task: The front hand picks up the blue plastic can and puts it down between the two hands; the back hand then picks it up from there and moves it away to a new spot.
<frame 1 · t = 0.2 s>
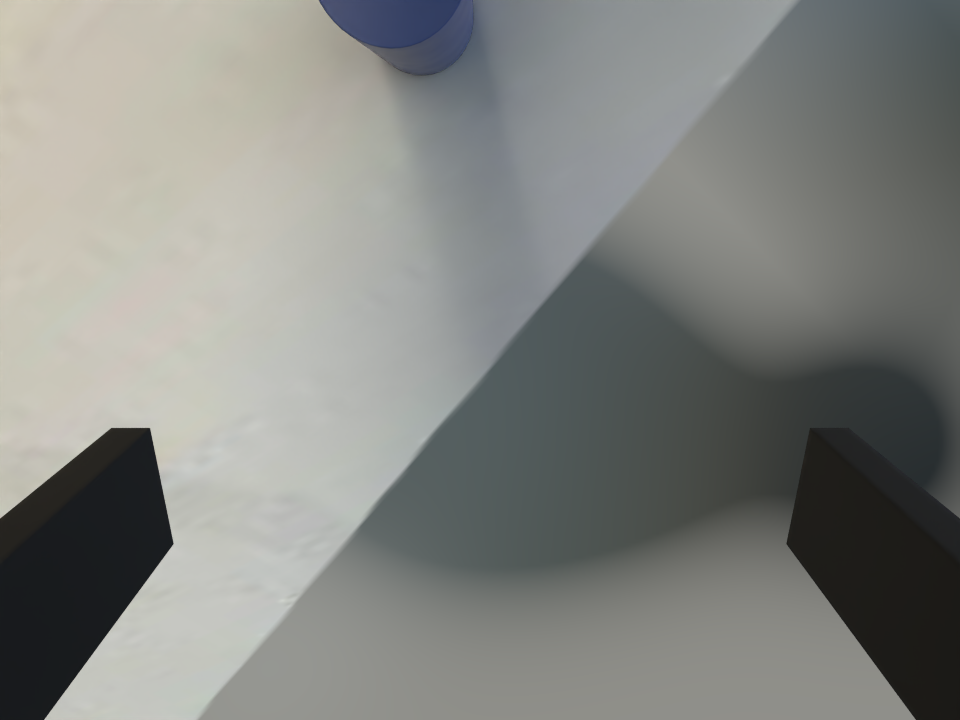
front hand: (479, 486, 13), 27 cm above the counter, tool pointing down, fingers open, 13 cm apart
can: (420, 16, 34), on the counter
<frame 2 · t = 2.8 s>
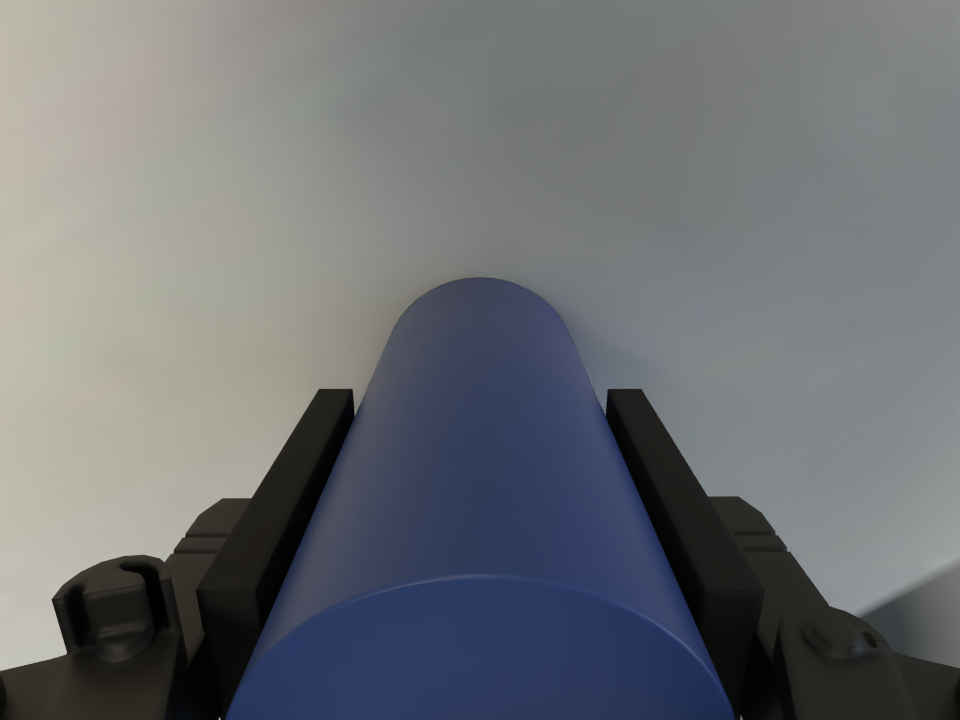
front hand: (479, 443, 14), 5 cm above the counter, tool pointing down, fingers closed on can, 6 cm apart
can: (480, 371, 19), on the counter, touching front hand
when the front hand's fingers open (6 cm above the counter, at t = 8.2 s): can drops 1 cm, on the counter.
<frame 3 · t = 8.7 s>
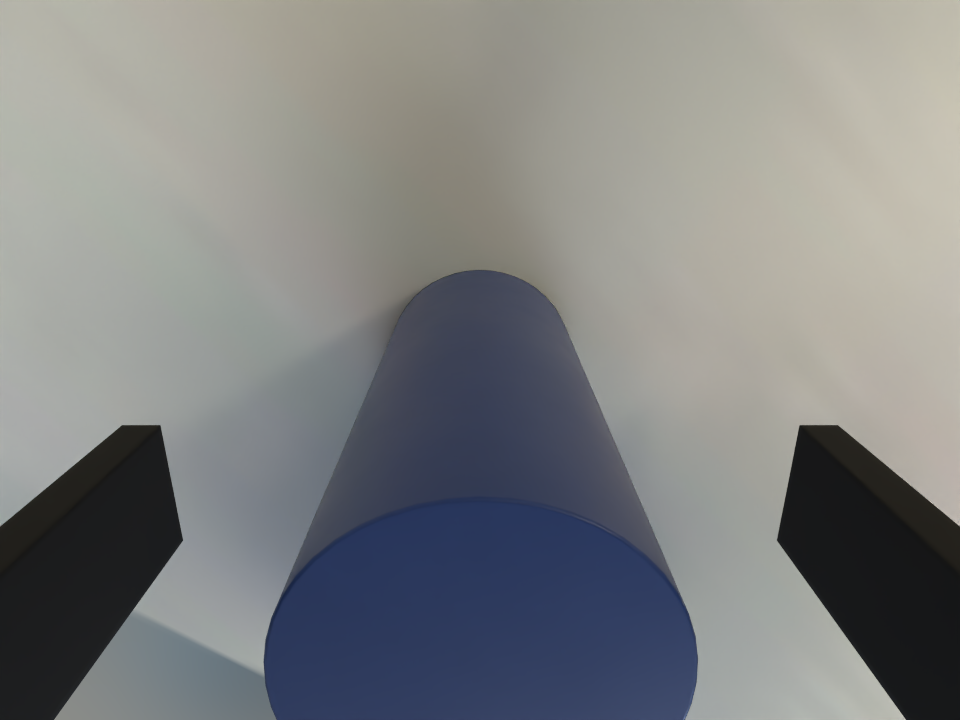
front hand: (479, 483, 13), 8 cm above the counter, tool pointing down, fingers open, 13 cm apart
can: (480, 358, 20), on the counter
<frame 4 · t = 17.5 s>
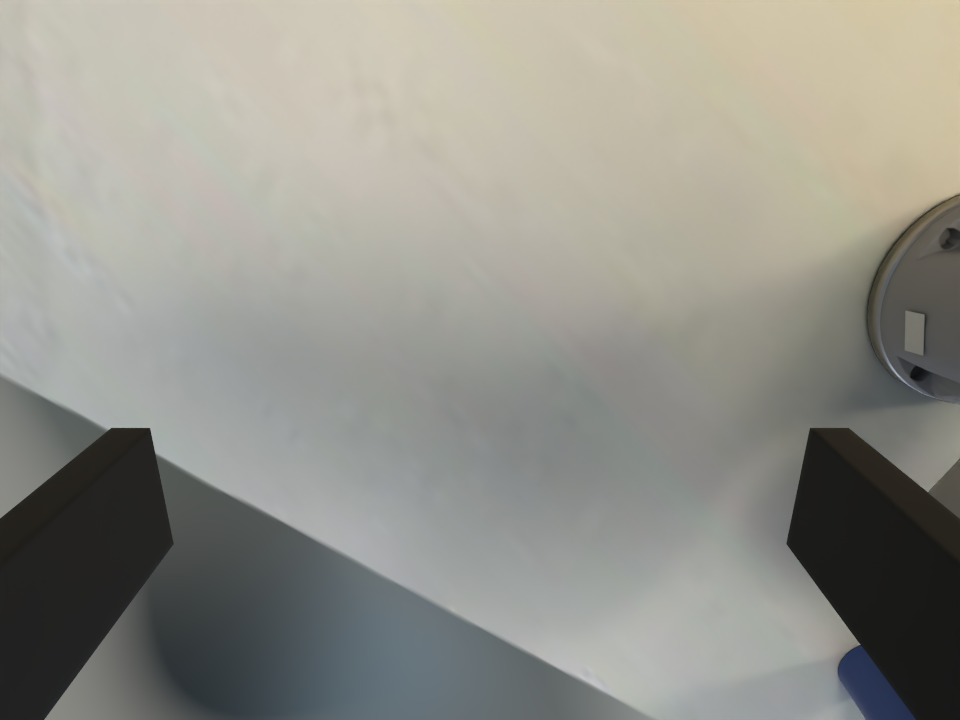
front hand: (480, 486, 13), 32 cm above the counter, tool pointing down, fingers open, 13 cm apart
can: (870, 666, 57), on the counter, touching back hand
when the back hand's fingers open (6 cm above the counter, at t = 24.9 s): can drops 1 cm, on the counter.
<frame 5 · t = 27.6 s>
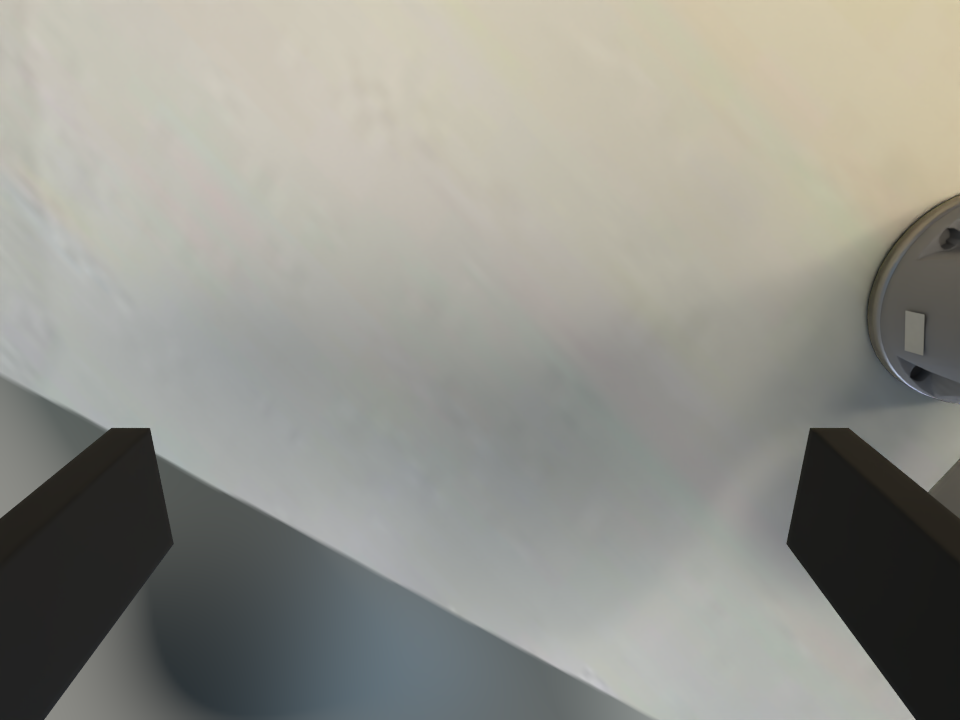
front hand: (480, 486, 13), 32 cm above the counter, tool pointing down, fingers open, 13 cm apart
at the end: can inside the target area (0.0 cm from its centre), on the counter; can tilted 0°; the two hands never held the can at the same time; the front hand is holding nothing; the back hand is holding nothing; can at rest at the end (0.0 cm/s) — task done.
